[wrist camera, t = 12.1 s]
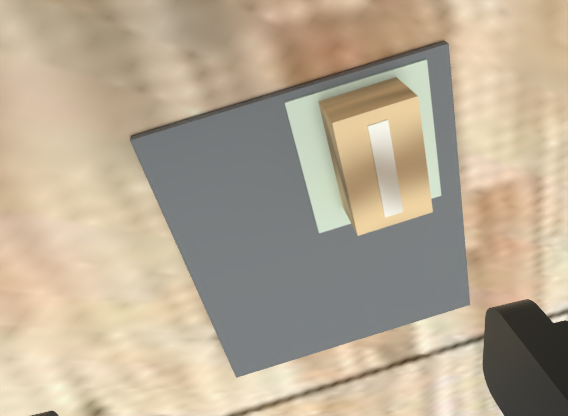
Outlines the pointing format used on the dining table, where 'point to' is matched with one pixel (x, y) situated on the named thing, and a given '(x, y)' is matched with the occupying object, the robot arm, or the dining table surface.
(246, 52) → the dining table surface
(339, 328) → the rubber mat
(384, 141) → the oak block
